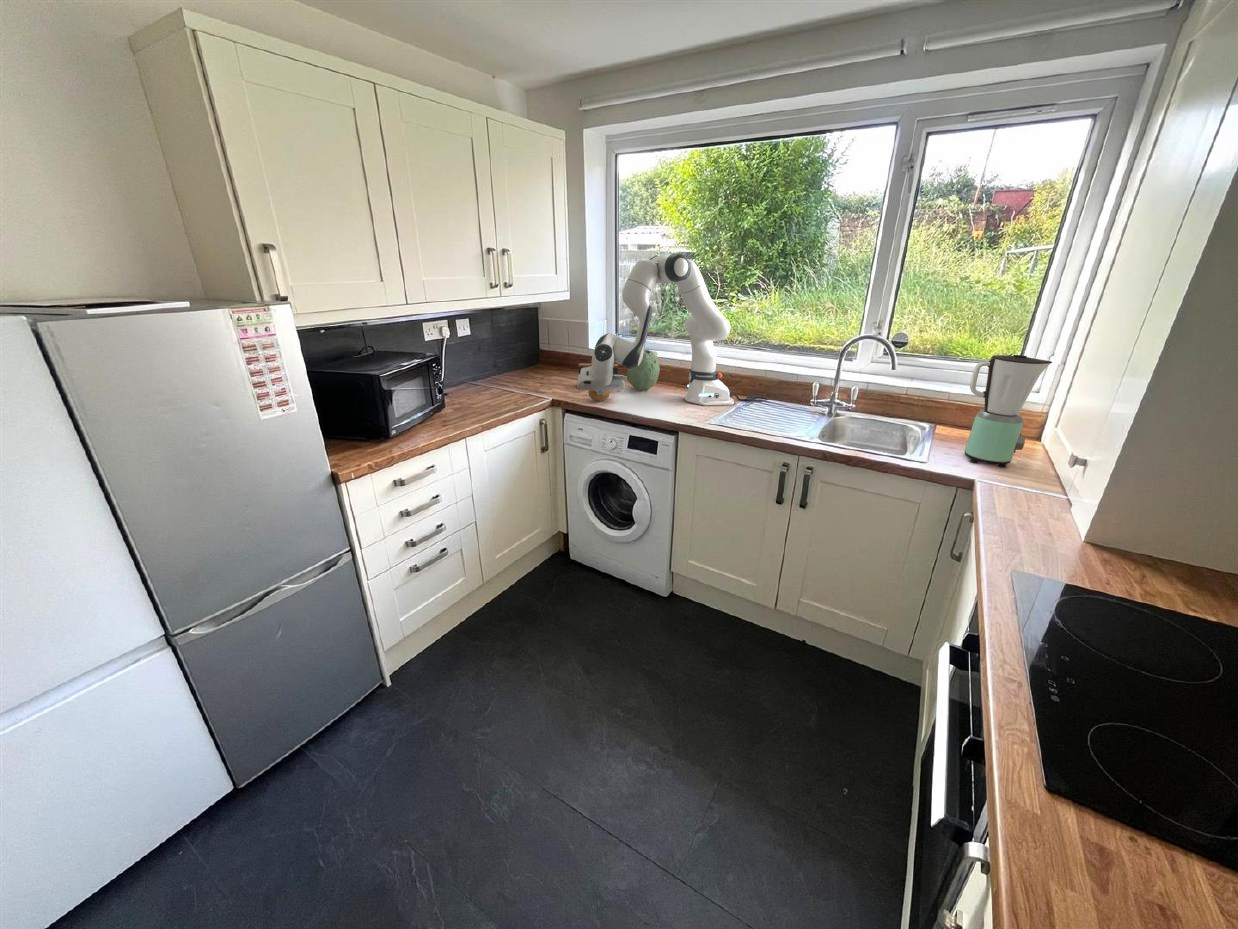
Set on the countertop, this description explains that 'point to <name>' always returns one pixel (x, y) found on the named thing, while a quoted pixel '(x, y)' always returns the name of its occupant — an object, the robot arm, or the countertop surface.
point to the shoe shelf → (583, 365)
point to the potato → (598, 397)
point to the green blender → (1002, 407)
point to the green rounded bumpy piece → (645, 371)
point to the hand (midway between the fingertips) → (600, 393)
